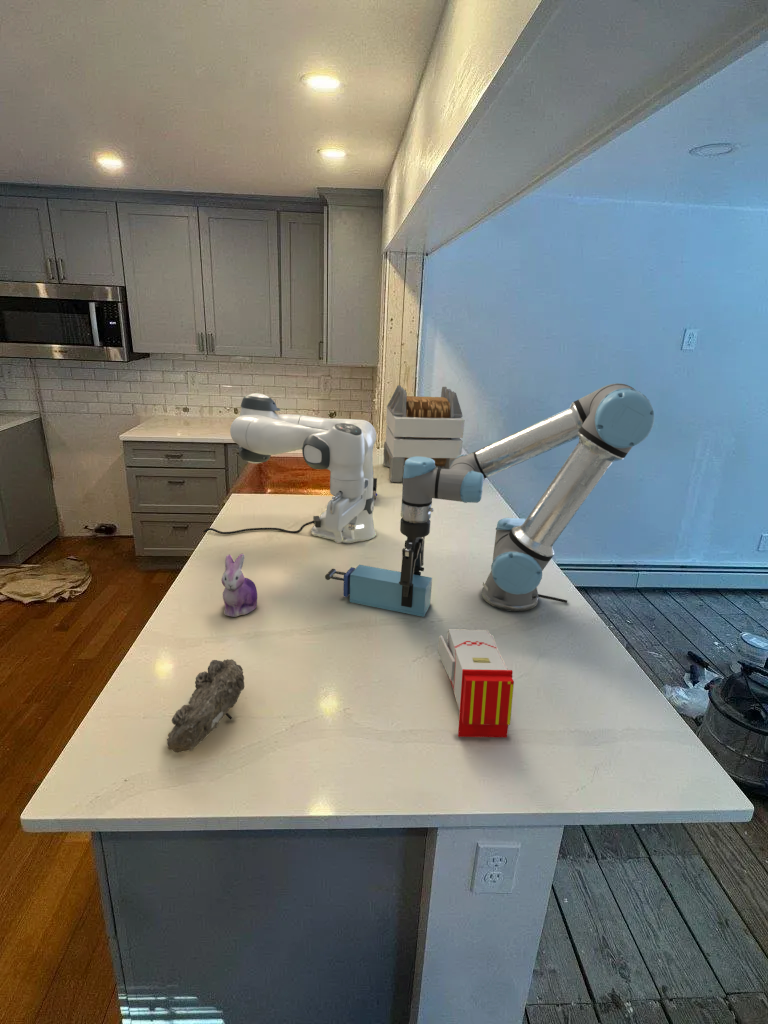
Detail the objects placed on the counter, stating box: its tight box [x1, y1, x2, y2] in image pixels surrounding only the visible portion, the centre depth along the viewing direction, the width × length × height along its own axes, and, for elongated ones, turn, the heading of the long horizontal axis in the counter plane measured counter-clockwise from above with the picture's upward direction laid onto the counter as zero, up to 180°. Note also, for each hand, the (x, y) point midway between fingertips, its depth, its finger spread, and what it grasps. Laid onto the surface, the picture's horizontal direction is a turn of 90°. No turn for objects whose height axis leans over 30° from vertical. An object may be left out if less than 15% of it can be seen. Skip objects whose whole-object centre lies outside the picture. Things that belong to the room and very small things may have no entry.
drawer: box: [324, 566, 356, 598], centre depth 153 cm, size 25×6×6 cm, turn 72°
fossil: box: [166, 658, 245, 754], centre depth 106 cm, size 22×10×15 cm
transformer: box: [383, 384, 465, 483], centre depth 268 cm, size 34×33×41 cm
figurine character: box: [373, 477, 378, 500], centre depth 233 cm, size 7×8×15 cm
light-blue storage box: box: [349, 564, 433, 618], centre depth 151 cm, size 21×7×8 cm, turn 72°
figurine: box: [220, 553, 258, 618], centre depth 144 cm, size 9×10×15 cm
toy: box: [437, 628, 515, 738], centre depth 117 cm, size 12×13×30 cm
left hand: (345, 535), depth 153 cm, fingers open, 8 cm apart
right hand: (410, 599), depth 150 cm, fingers closed on light-blue storage box, 7 cm apart
